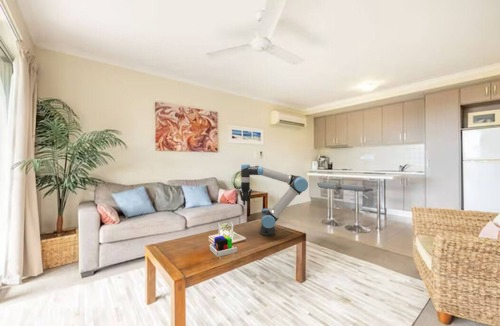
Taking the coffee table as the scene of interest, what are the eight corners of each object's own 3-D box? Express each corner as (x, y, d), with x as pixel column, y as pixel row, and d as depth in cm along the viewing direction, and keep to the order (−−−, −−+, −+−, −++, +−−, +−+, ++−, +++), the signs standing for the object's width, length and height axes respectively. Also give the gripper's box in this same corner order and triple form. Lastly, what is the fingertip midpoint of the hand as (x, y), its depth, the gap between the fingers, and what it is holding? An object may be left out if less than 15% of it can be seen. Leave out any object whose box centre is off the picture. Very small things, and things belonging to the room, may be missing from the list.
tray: (227, 244, 177) (227, 240, 177) (236, 252, 164) (236, 247, 164) (209, 249, 169) (209, 244, 169) (217, 257, 155) (217, 252, 155)
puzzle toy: (214, 250, 167) (214, 237, 167) (226, 247, 172) (226, 234, 172) (219, 255, 159) (219, 241, 158) (231, 252, 164) (231, 239, 164)
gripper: (249, 180, 197) (249, 206, 197) (236, 181, 190) (236, 208, 191) (254, 181, 190) (253, 208, 191) (241, 182, 184) (241, 210, 184)
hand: (245, 208), depth 191 cm, fingers closed
